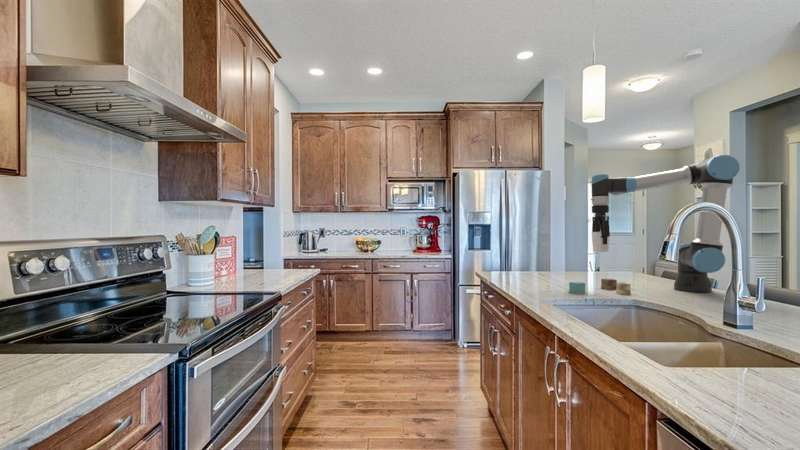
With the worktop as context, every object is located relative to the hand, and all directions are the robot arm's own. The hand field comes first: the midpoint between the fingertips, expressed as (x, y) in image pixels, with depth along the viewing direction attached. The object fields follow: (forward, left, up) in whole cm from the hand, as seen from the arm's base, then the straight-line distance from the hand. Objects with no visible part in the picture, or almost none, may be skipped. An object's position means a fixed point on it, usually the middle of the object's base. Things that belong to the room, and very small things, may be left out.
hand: (600, 250), depth 190 cm
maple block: (-7, +8, -20) cm, 23 cm away
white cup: (0, 0, -1) cm, 1 cm away
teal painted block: (+14, +7, -20) cm, 26 cm away
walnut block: (-6, -5, -20) cm, 22 cm away
